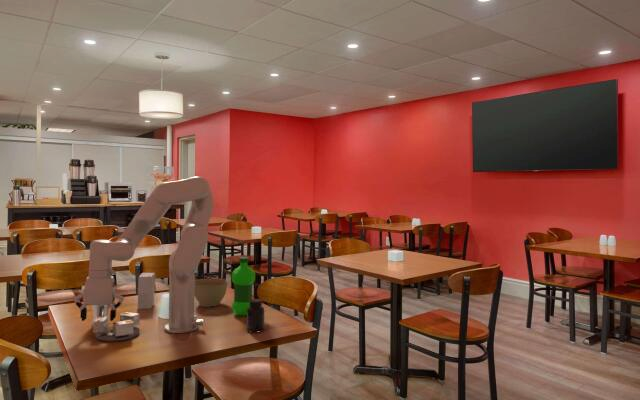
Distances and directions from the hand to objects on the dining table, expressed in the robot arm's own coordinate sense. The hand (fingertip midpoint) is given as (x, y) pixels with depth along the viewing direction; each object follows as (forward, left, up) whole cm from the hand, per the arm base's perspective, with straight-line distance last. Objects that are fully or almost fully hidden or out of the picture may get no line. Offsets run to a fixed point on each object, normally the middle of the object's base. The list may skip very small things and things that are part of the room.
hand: (98, 319), depth 168 cm
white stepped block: (-8, -8, -5) cm, 12 cm away
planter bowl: (-27, -48, -6) cm, 55 cm away
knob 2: (-11, +2, -5) cm, 12 cm away
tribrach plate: (-7, -2, -6) cm, 9 cm away
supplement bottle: (-56, -15, -6) cm, 58 cm away
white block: (-1, 0, -4) cm, 5 cm away
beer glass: (+6, -13, -6) cm, 16 cm away
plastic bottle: (-46, -35, -6) cm, 58 cm away
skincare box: (0, -40, -6) cm, 40 cm away
